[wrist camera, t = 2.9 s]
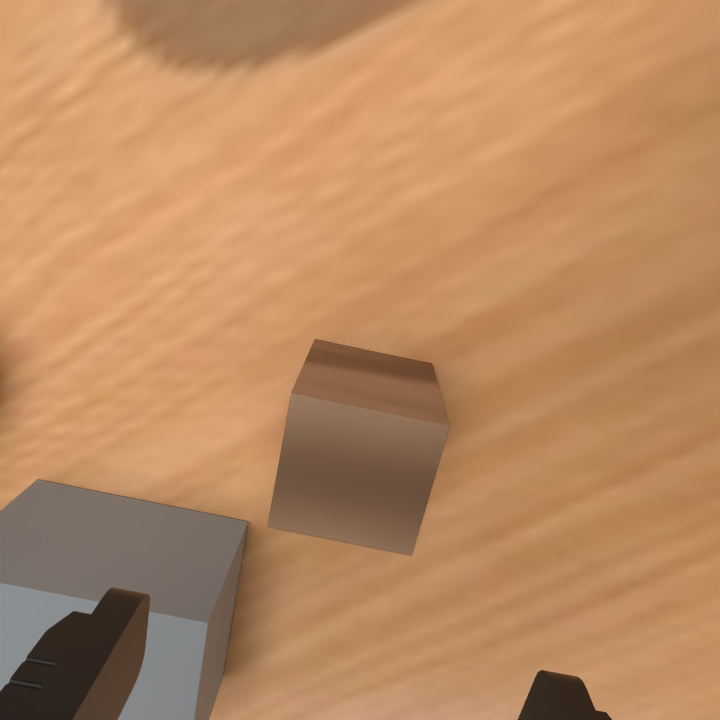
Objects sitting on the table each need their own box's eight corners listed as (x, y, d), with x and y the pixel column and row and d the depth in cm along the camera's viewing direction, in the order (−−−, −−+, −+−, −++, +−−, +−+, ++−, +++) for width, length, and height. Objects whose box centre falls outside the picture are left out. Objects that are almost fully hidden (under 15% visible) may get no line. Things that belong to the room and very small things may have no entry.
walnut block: (315, 338, 22) (291, 392, 16) (431, 363, 22) (449, 426, 16) (295, 443, 23) (267, 527, 18) (404, 466, 23) (412, 556, 18)
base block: (37, 479, 24) (-69, 569, 19) (248, 521, 24) (208, 622, 19) (36, 640, 27) (-54, 759, 22) (223, 676, 28) (182, 802, 22)
